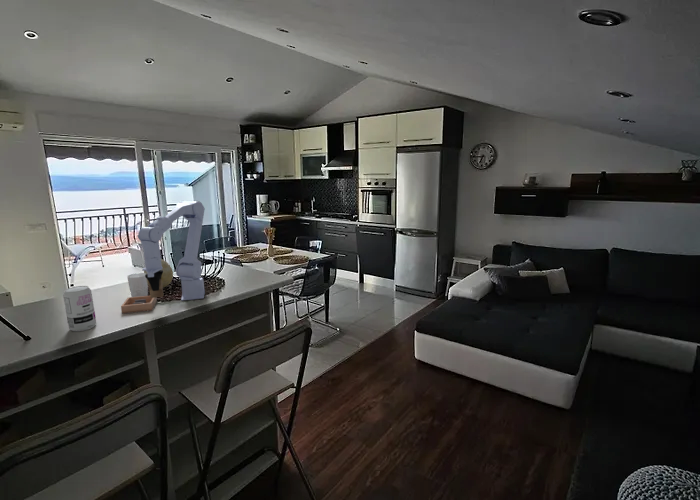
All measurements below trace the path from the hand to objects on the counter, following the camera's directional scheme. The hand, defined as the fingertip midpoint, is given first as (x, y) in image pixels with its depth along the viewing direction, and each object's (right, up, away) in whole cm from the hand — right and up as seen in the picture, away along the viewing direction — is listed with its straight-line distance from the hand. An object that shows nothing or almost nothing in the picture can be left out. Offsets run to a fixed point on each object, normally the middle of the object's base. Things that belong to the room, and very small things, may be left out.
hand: (156, 289), depth 145 cm
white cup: (-20, -6, +22) cm, 30 cm away
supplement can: (-20, -13, -12) cm, 27 cm away
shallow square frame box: (-11, -8, +7) cm, 15 cm away
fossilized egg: (-16, -3, +33) cm, 37 cm away
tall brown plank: (0, -3, +1) cm, 3 cm away
